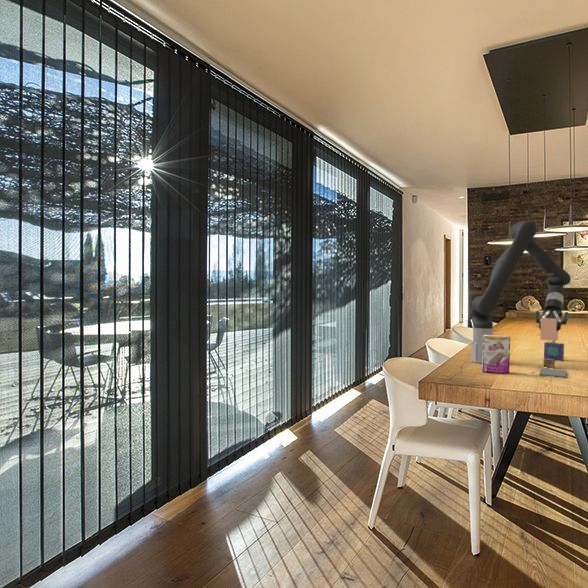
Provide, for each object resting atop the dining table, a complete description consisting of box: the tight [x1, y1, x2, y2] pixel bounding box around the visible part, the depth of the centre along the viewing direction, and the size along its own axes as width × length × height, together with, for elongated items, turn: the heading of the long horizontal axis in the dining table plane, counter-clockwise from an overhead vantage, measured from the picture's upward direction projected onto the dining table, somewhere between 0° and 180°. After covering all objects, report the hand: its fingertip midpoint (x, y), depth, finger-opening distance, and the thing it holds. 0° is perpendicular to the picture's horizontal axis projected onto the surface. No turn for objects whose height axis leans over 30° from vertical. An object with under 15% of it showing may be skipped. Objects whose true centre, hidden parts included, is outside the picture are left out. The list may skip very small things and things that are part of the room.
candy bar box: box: [481, 334, 511, 375], centre depth 212 cm, size 11×5×16 cm, turn 71°
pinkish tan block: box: [540, 317, 559, 342], centre depth 225 cm, size 6×6×10 cm
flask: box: [543, 340, 565, 362], centre depth 249 cm, size 9×3×11 cm, turn 50°
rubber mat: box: [538, 367, 567, 379], centre depth 210 cm, size 16×10×1 cm, turn 150°
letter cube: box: [542, 358, 556, 369], centre depth 225 cm, size 4×4×4 cm
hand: (549, 329), depth 224 cm, fingers closed on pinkish tan block, 6 cm apart
